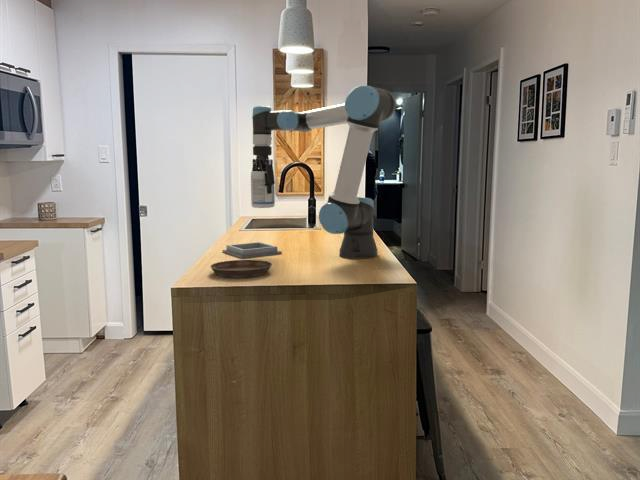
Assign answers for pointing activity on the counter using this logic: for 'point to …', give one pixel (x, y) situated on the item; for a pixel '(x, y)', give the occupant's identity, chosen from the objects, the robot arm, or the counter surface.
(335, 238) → the counter surface
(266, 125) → the robot arm
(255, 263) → the plant saucer
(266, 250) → the board
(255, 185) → the supplement tub
